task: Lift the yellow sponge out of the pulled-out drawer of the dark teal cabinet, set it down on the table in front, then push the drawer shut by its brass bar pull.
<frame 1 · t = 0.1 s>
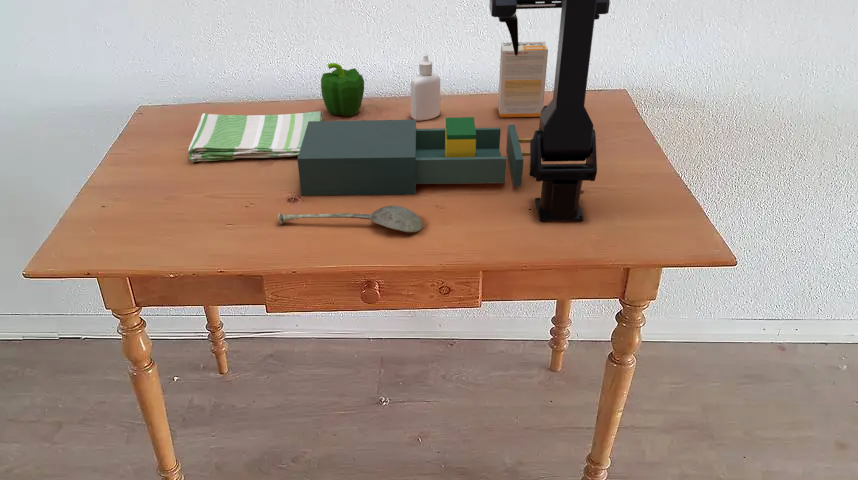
hand: (543, 54, 132), 15 cm above the table, tool pointing down, fingers open, 9 cm apart
eye dropper bottle: (425, 117, 149), on the table
cabinet: (360, 174, 130), on the table
supplement box: (519, 113, 148), on the table
soupspoon: (350, 225, 117), on the table
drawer: (477, 155, 127), point 3 cm above the table, slide at 15.5 cm, touching sponge
bell pepper: (344, 112, 153), on the table
dish towel: (258, 141, 144), on the table, touching cabinet
sponge: (459, 162, 128), point 2 cm above the table, touching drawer
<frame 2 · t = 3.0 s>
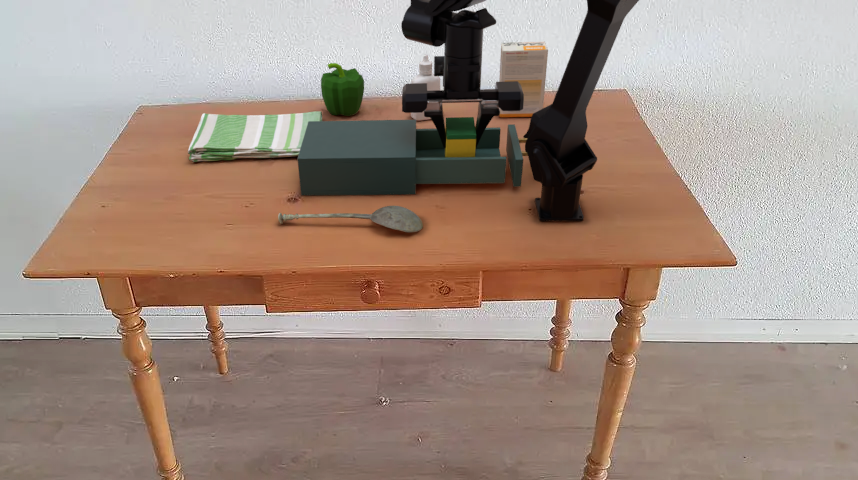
hand: (460, 146, 126), 5 cm above the table, tool pointing down, fingers closed on sponge, 4 cm apart
sponge: (459, 162, 128), point 2 cm above the table, touching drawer, gripper
everything else where it was.
when the fingers open (3 cm above the table, at t = 8.2 s): sponge stays where it is, on the table.
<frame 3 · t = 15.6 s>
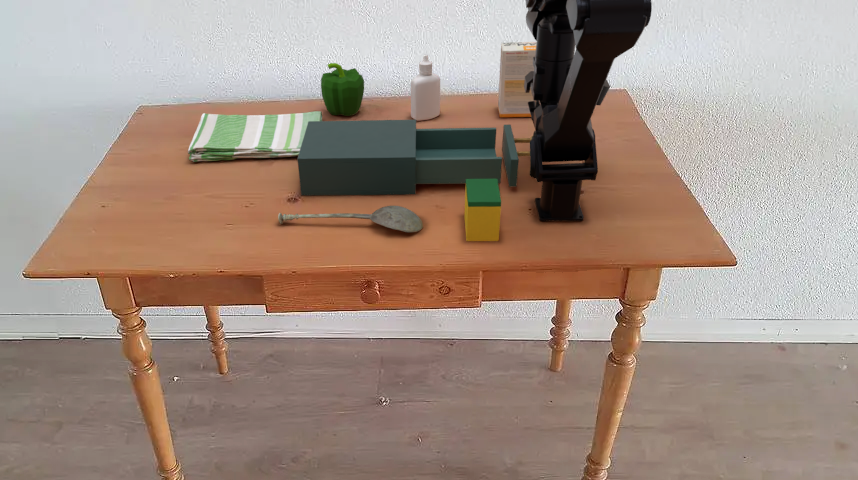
hand: (544, 150, 126), 4 cm above the table, tool pointing down, fingers closed
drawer: (472, 155, 127), point 3 cm above the table, slide at 14.8 cm, touching gripper
sponge: (480, 228, 114), on the table
everything else where it was.
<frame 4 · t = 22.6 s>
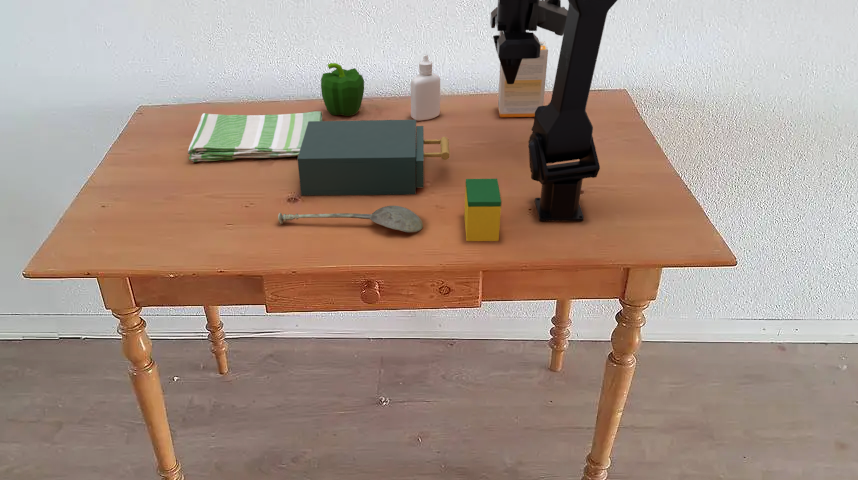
hand: (510, 83, 129), 12 cm above the table, tool pointing down, fingers closed
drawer: (383, 156, 128), point 3 cm above the table, slide at 0.1 cm
everything else where it was.
at the end: sponge inside the target area (0.0 cm from its centre), on the table; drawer slide at 0.1 cm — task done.
